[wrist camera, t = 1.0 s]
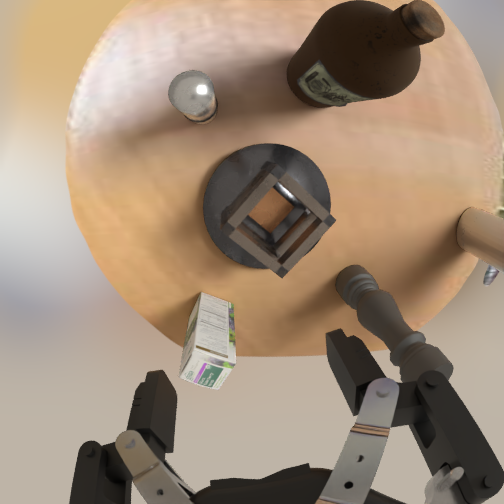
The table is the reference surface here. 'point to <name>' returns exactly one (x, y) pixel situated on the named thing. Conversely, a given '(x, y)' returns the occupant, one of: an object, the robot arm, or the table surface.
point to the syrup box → (209, 343)
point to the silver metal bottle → (194, 96)
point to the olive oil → (362, 52)
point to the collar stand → (267, 207)
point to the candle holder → (390, 325)
